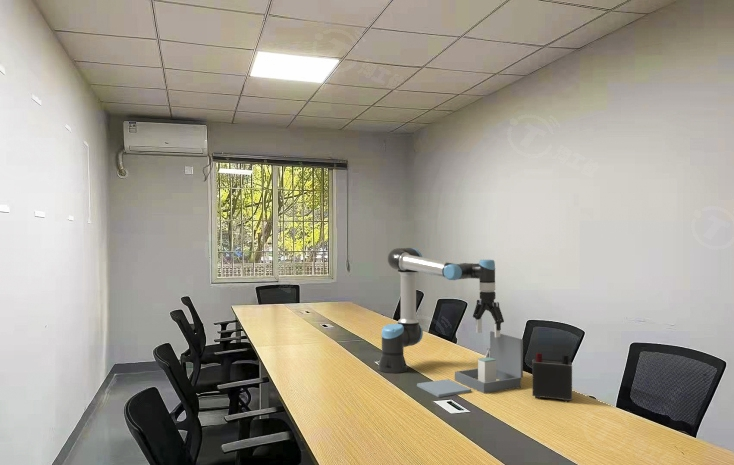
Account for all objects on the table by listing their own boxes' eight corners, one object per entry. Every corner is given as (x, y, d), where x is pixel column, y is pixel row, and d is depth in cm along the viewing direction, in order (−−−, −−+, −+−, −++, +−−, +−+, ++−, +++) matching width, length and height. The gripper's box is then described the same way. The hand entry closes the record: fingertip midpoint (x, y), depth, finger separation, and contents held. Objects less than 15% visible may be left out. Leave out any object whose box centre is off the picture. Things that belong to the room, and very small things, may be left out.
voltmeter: (569, 392, 227) (569, 348, 227) (572, 403, 212) (572, 356, 212) (532, 388, 232) (532, 345, 233) (532, 399, 217) (532, 353, 217)
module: (478, 383, 239) (478, 358, 240) (489, 381, 242) (489, 357, 243) (484, 386, 235) (484, 360, 235) (496, 384, 238) (496, 359, 238)
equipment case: (453, 379, 245) (453, 334, 245) (490, 374, 255) (490, 330, 255) (483, 393, 224) (484, 343, 224) (522, 386, 234) (522, 339, 234)
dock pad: (416, 386, 234) (416, 383, 234) (448, 381, 242) (448, 379, 242) (438, 397, 218) (438, 394, 218) (471, 391, 226) (471, 389, 226)
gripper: (511, 292, 232) (511, 338, 231) (477, 288, 254) (478, 330, 254) (498, 293, 229) (499, 339, 228) (465, 289, 251) (466, 331, 251)
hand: (488, 334), depth 241 cm, fingers open, 13 cm apart
